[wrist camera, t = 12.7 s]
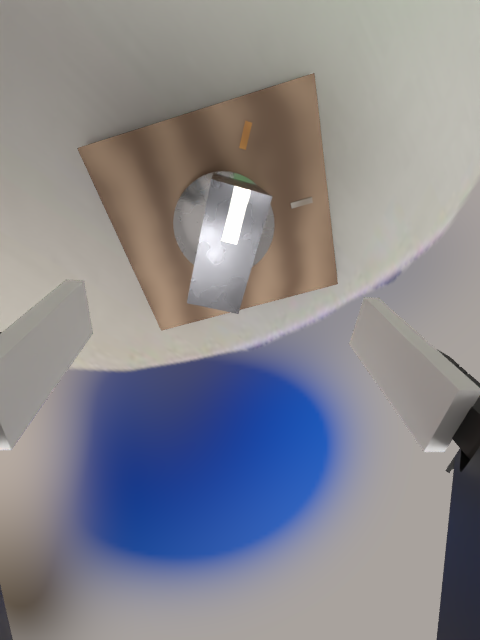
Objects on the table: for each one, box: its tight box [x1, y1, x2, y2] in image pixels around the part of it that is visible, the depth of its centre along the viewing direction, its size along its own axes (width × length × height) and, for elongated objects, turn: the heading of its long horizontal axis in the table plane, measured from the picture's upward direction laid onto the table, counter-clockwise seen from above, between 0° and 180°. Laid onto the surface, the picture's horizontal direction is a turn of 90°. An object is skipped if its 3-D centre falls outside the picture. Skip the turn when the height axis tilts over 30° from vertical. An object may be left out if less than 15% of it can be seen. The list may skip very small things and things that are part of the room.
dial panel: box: [77, 73, 338, 331], centre depth 35 cm, size 24×22×3 cm
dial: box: [173, 171, 274, 314], centre depth 29 cm, size 11×11×12 cm
